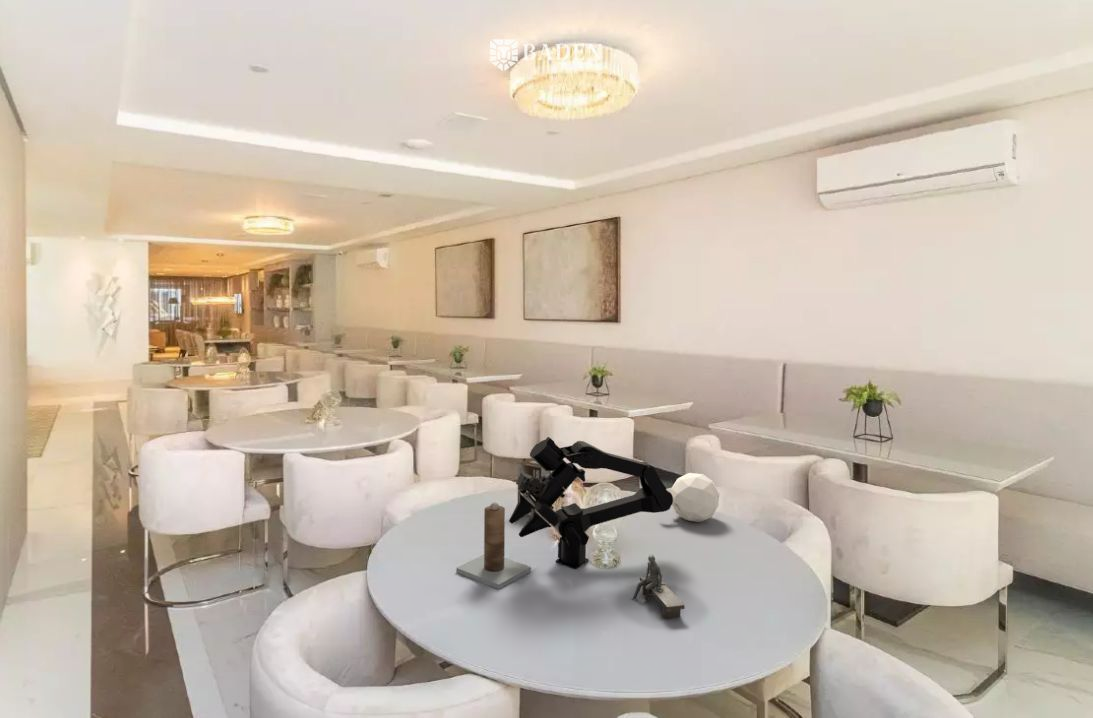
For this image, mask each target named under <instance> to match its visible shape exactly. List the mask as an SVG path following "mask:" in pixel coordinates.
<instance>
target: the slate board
mask: <svg viewBox="0 0 1093 718" xmlns="http://www.w3.org/2000/svg"><path fill="white" fill-rule="evenodd" d="M455 568H456V573H457V574H460V575H463V576H465V577H467V578H469V579H471V580H475V581H477V582H480V583H482V584H485V585H488V586H490V587H493V589H497V590H501V589H502V588H504V587H507V585H509V584H511V583H513V582H515V581H516V580H518V579H520V578H522V577H523V576H525V575H527V574H529V573H531V571H532V570H531V568H532V567H531V566H530V565H526V564H523V563H520V562H518V561H516V560H513V559H509V558H507V557H504V569H503V570H501V571H497V572H490V571H487V570H485V569H484V554H482V555H480V556H478V557H476V558H474V559H472V560H470V561H467V562H465V563H463V564H461V565H459V566H456V567H455Z"/></svg>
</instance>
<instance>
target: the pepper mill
mask: <svg viewBox="0 0 1093 718" xmlns="http://www.w3.org/2000/svg"><path fill="white" fill-rule="evenodd" d="M483 510H484V516H483V518H484V523H483V525H484V526H483V527H484V530H483V531H484V533H483V536H484V537H483V541H484V543H483V544H484V545H483V546H484V547H483V555H484V569H485V570H487V571H490V572H497V571H501V570H503V569H504V558H505V534H506V533H505V532H506V531H505V528H506V527H505V525H506V524H505V523H506V521H505V520H506V519H505V518H506V516H505V514H506V509H505V507H504V506H502V505H500V504H499V503H498V502H492V503H491V504H490V505H488V506H486V507H484V509H483Z"/></svg>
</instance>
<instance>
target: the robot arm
mask: <svg viewBox="0 0 1093 718" xmlns="http://www.w3.org/2000/svg"><path fill="white" fill-rule="evenodd" d="M529 457H530V458H532V459H531V460H533V461H536V462H537V463H538V464H539V465H540V466H541V467H542V468H543V469H544V470H545V471H549V470H551V473H550V474H549V475H548V476H547V478H546V477H545V476H542V477H541V478H540V479H538V478H535V477H534V476H530V475H528V474H525V473H523V472H521V473H520V476H519V478H518V477H517V481H516V482H515V484H516V485H517V504H516V506H515V508H514V510H513V512H512V514H511V516H510V518H509V520H508V522H509V523H511V524H512V525H513V524H514V523H516V522H517V521H519V520H520V519H523V517H525V516H528V515H527V514H529V513H530V512H531V516H530V517H529V518H528V520H527V521H526V523H525V524H524V525H523V527H522V528H521V530H520V531H519V533H518V536H519V537H520V538H523V537H524V538H525V537H527V536H528V535H531V534H533V533H536V532H538V531H540V530H541V531H542V530H543V529H544V530H545V529H546V528H551V527H553V528H555V531H557V532H558V534H559V535H560V537H559V542H558V543H557V558H556V559H555V563H556V564H559V565H561V566H565V567H568V568H570V569H573V570H577V569H579V568H580V567H582V566H584V565H585V564H587V563H588V562H589V561H590V559H589V558H587V557H586V555H587V554H586V553H587V549H586V548H587V545H588V544H587V543H588V541H589V540H590V536H589V535H588V534H587V533H586V532H587V530H589V529H590V528H591V527H593V526H596V525H600V524H603V523H607V522H610V521H614V520H617V519H620V518H624V517H627V516H630V515H634V514H638V513H652V514H653V513H655V514H656V513H663V512H668V511H669V510H670V509H671V506H673V505H672V503H673V496H672V494H671V491H669V490H667V488H666V486H665V484H664V483H663V480H662V479H661V478H660V477H659V475H658V473H657V471H656V468H655V467H654V466H653V465H651V464H650V463H648V462H646V461H639V460H636V459H632V458H628V457H625V456H621V455H618V454H613V453H610V452H606V451H603V450H601V449H600V448H598V447H596V446H594V445H592V444H590V443H588V442H585V441H584V440H578V441H576V442H574V443H573V444H571V445H568V446H562V447H559V446H558V444H556V443H555V441H554V440H553V439H552V437H549V436H547V437H546V438H545V439H543V440H540V441H539V442H538V443H536V444H535V445H533V447H532V449H531V450H530V452H529ZM564 459H566V460H567V461H568V462H566V461H565V460H564ZM576 464H577V466H579V467H580V468H578V467H577V466H576ZM584 469H590V470H599V469H605V470H609V471H613V472H618V473H621V474H626V475H629V476H633V477H637V478H639V479H638V480H639V484H640V486H641V488H640V489H638V491H636V492H635V493H634V494H632V495H628V496H625V497H621V498H618V499H614V500H611V501H606V502H603V503H600V504H596V505H594V506H590V507H587V508H583V507H582V508H581V507H580V506H579V504H578V503H577V502H574V503H571V504H569V505H566V506H565V505H561V506H560V508H559V509H557V510H554V506H553V505H554V504H555V502H556V501H558V499H559V498H561V499H564V497H566V495H565V494H564V493H565V492H566V490H568V488H569V487H571V485H572V484H573V483H574V482H575V481H576V480H577V479H579V480H580V481H582V482H583V483H585V482H586V475H585V474H586V470H584ZM518 486H519V488H518ZM518 490H519V491H520V492H521V493H519V492H518ZM532 503H533V504H534V505H535V506H533V505H532ZM535 509H536V511H537V512H536V511H535Z"/></svg>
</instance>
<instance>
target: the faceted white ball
mask: <svg viewBox="0 0 1093 718" xmlns="http://www.w3.org/2000/svg"><path fill="white" fill-rule="evenodd" d="M670 493H671V494H672V496H673V503H672V505H671V506H672V507H673V510H674V511H675V513H676V514H677V515H678V516H679V517H681V518H682V519H684V520H685V521H688V522H689V521H690V522H695V523H702V522H704V521H706V520H708V519H710V518H713V516H714V515H715V512H716V511H717V510H718V507H719V501H720V492H719V490H718V488H717V486H716V485H715V483H714V480H712V479H710V477H708V476H706V475H705V474H703V473H702V474H701V473H694V472H688V473H685V474H684V475H682V476H680V477H678V478H676V481H675V482H674V484H673V485H672V487H671V490H670Z"/></svg>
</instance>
